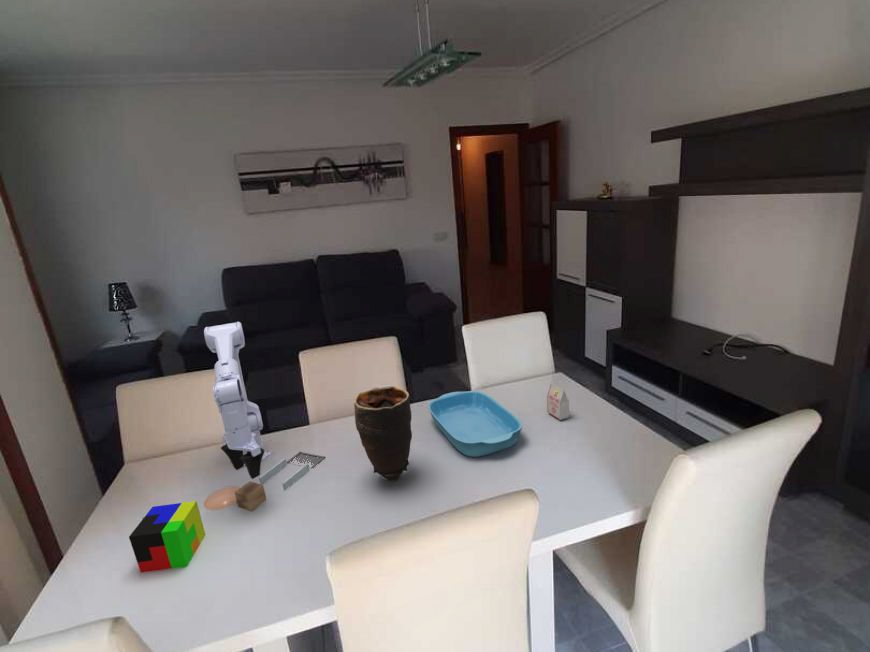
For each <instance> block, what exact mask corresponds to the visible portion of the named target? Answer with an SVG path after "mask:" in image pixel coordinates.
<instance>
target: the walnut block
mask: <svg viewBox="0 0 870 652" xmlns="http://www.w3.org/2000/svg"><path fill="white" fill-rule="evenodd" d="M235 496H236V500H237V502H236V504H237V508H238V509H239V508H240V509H242V510H246V511H249V512H253V511H254V510H255V509H257V508H258V507H260V505H262V504H263V503H264V502H266V501H267V496H266V492H265V487H264V484H263V485H261V484H260V483H257V482H254V481H251V480H250V481H248V482H246V483H245V484H244V485H242V486H241V487H240V489H238V490H237V491H235Z"/></svg>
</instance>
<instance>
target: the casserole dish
mask: <svg viewBox="0 0 870 652" xmlns="http://www.w3.org/2000/svg"><path fill="white" fill-rule="evenodd" d="M427 407H428V410H429V413H430V415H431V418H432V420H433V422H434V423H435V424H436V426H437V427H438V429H439V430H440V431H441V433H442V434H443V435H444V436H445V437H446V439H448V441H449V442H450V443H451V445H453V446H454V448H455V449H457V451H459V452H460V453H462V454H463V455H465V456H467V457H471V458H476V457H482V456H486V455H490V454H493V453H498V452H499V451H503V450H506V449H508V448H510V447H513V446H514V445H515V444H516V442H517V441H518V439H519V436H520V433H521V430H522V429H523V424H522V421H521V420H520V419H519V417H517V416H516V415H515V414H513V412H511V411H510V409H509V410H508V408H506V407H505V406H503V404H501V403H500V402H498V401H497V400H496V399H495V398H493V397H491V396H490V395H488V394H487V393H485V392H482V391H477V390H470V391H469V390H468V391H453V392H449V393H444V394H441V395H440V396H438V397H437V398H436V399H433V400H431V401H429V403H428V405H427Z"/></svg>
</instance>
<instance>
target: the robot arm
mask: <svg viewBox="0 0 870 652" xmlns="http://www.w3.org/2000/svg"><path fill="white" fill-rule="evenodd" d="M203 329H204V330H203V335H204V341H205V344H206V346H207V348H208V349H209V350H210V351H211V352H212V353H214V354H215V353H216V355H217V358H218V361H216V363H215V364H214V367H213V369H214V381H215V385H214V384H213V385H212V394H213V398H214V402H215V403H216V405H217V408H218V412H219V414H220V415H221V420H222V423H223V428H224V433H225V434H222V435H221V436H222V440H223V441H222V442H224V443H225V444H224V445H222V446H221V447H220V449H221V451H222V452H223V453H224V454H225V456H227V458H228V459H229V462H230V463H231V464H232V467H234V470H236V471H238V470H240V469H242V468H244V466H245V467H246V469H247V472H248V474H249V477H250V479H252V480H253V479H256V478H257V477H260V476H261V463H262V461H263V460H264V458H265V457H266V458H267V457H269V456H270V455H271V454H272V453H271V452H269V451H265V450H264V446H263V441H262V435H261V433H260V432H261V430H263V427H264V424H263V423H264V422H263V420H262V414H261V411H260V407H259V406H258V404H256V403H254V402H252V401H250V400H248V397H247V391H246V386H245V382H244V377H243V372H242V367H241V362H240V357H239V353H240V350H241V349H243V348H244V347H245V345H246V343H245V335H244V330H243V326H242V323H241V322H240V321H236V322H232V323H224V324H221V325H220V324H219V325H213V326H206V327H205V328H203ZM268 455H269V456H268ZM266 458H265V459H266ZM261 460H262V461H261Z"/></svg>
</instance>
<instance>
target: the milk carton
mask: <svg viewBox="0 0 870 652" xmlns="http://www.w3.org/2000/svg"><path fill="white" fill-rule="evenodd" d="M546 402H547V403H546V405H547V406H546V409H547V411H546V412H547V413H548V414H550V415H551V416H553V417H554V418H556V419H558V420H559V421H561V420H565V419H568V418H570V400H569V398H568V396H567V394H566V392H565V389H562V388H561V387H559V386H557V385H556V384H554V383H550V386H549V388H548V392H547V394H546Z"/></svg>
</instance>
